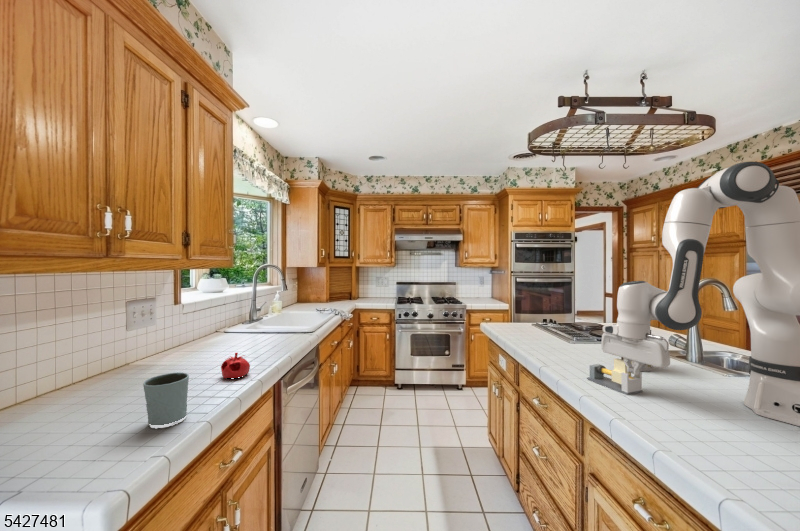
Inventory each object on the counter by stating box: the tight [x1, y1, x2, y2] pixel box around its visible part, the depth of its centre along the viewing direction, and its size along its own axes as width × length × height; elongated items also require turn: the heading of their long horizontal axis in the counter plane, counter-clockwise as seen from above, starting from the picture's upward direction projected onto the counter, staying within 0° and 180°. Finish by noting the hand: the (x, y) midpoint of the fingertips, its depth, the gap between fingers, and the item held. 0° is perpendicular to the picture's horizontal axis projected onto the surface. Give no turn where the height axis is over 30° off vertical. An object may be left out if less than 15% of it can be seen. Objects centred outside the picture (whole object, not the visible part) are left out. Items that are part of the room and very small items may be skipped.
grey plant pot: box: [142, 372, 190, 425], centre depth 90 cm, size 10×10×12 cm
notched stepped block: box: [611, 358, 632, 384], centre depth 111 cm, size 4×4×7 cm
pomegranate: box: [220, 352, 251, 379], centre depth 126 cm, size 10×10×9 cm
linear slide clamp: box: [586, 363, 643, 396], centre depth 114 cm, size 15×7×7 cm, turn 18°
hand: (633, 373), depth 107 cm, fingers closed
